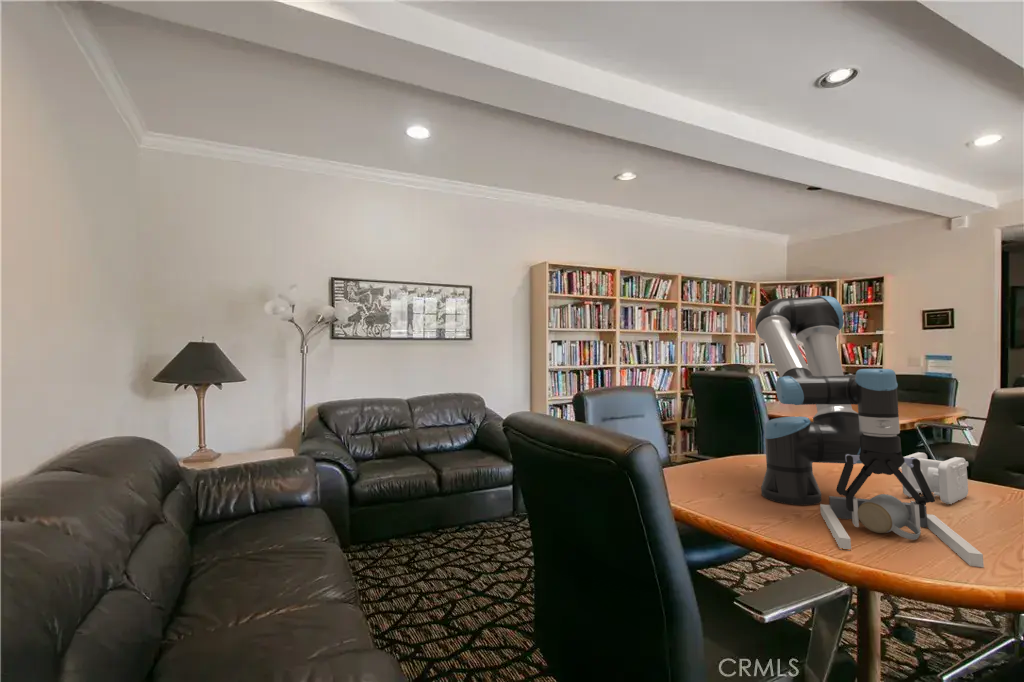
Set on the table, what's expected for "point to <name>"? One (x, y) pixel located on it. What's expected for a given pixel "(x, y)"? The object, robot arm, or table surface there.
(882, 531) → the ceramic mug
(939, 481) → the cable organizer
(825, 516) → the guide track
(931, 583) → the table surface
